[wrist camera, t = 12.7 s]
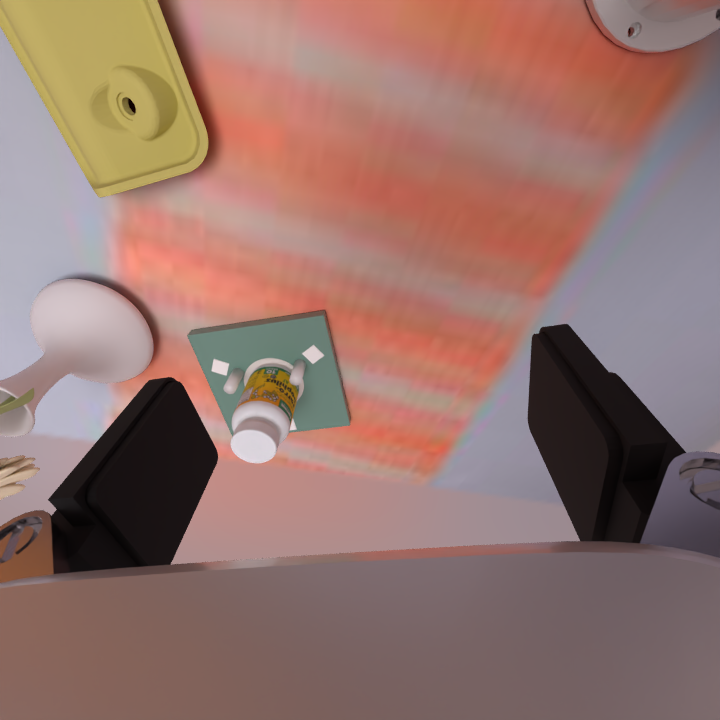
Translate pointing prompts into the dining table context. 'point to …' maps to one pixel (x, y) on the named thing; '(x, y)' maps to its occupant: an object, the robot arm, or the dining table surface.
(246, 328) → the board
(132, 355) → the flower in vase
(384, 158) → the dining table surface
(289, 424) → the supplement bottle
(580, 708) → the robot arm
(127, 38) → the plastic component
